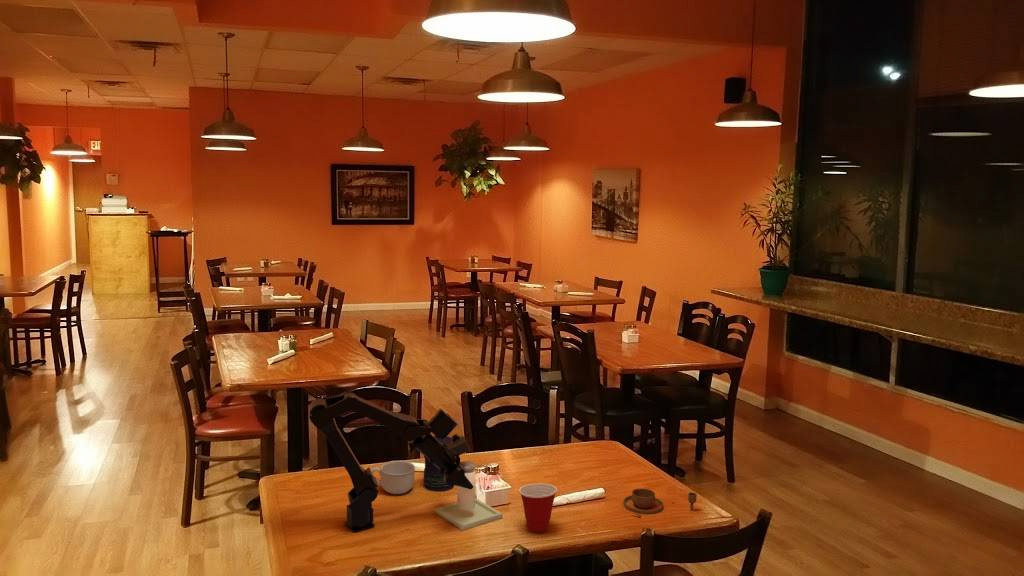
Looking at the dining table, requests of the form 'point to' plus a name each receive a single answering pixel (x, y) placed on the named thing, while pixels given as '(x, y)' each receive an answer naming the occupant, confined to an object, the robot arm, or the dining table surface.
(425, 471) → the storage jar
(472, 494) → the salt shaker
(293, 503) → the dining table surface
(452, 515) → the tray
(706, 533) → the dining table surface
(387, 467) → the teacup
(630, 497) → the place setting
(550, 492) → the plastic cup
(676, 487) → the dining table surface
